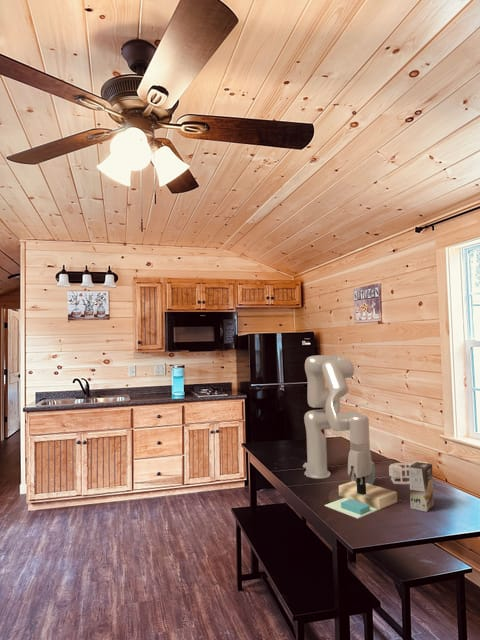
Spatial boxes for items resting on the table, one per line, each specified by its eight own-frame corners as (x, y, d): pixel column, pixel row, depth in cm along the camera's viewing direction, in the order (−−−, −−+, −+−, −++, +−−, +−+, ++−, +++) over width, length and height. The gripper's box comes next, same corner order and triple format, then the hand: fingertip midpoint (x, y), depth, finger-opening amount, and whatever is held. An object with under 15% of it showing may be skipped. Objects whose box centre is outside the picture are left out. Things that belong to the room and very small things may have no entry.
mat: (324, 506, 169) (324, 505, 169) (344, 498, 176) (344, 497, 176) (357, 518, 156) (357, 517, 156) (378, 510, 163) (378, 509, 163)
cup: (363, 488, 188) (362, 465, 189) (353, 482, 195) (353, 460, 196) (378, 486, 190) (377, 463, 191) (368, 481, 198) (367, 459, 198)
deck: (338, 495, 180) (338, 485, 180) (356, 489, 187) (356, 479, 187) (379, 509, 164) (379, 499, 164) (397, 502, 171) (396, 491, 171)
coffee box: (427, 512, 160) (425, 469, 161) (410, 508, 164) (408, 466, 165) (434, 505, 167) (432, 463, 168) (417, 501, 171) (415, 461, 172)
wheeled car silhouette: (422, 474, 206) (421, 459, 206) (436, 482, 195) (435, 465, 195) (383, 477, 202) (383, 462, 203) (395, 485, 191) (395, 468, 192)
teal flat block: (350, 498, 169) (350, 504, 169) (340, 502, 165) (341, 507, 165) (369, 505, 162) (369, 510, 162) (360, 509, 158) (360, 514, 158)
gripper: (363, 442, 176) (365, 487, 175) (340, 448, 167) (341, 495, 166) (379, 445, 170) (381, 491, 169) (355, 451, 161) (357, 501, 160)
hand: (361, 493), depth 167 cm, fingers closed
